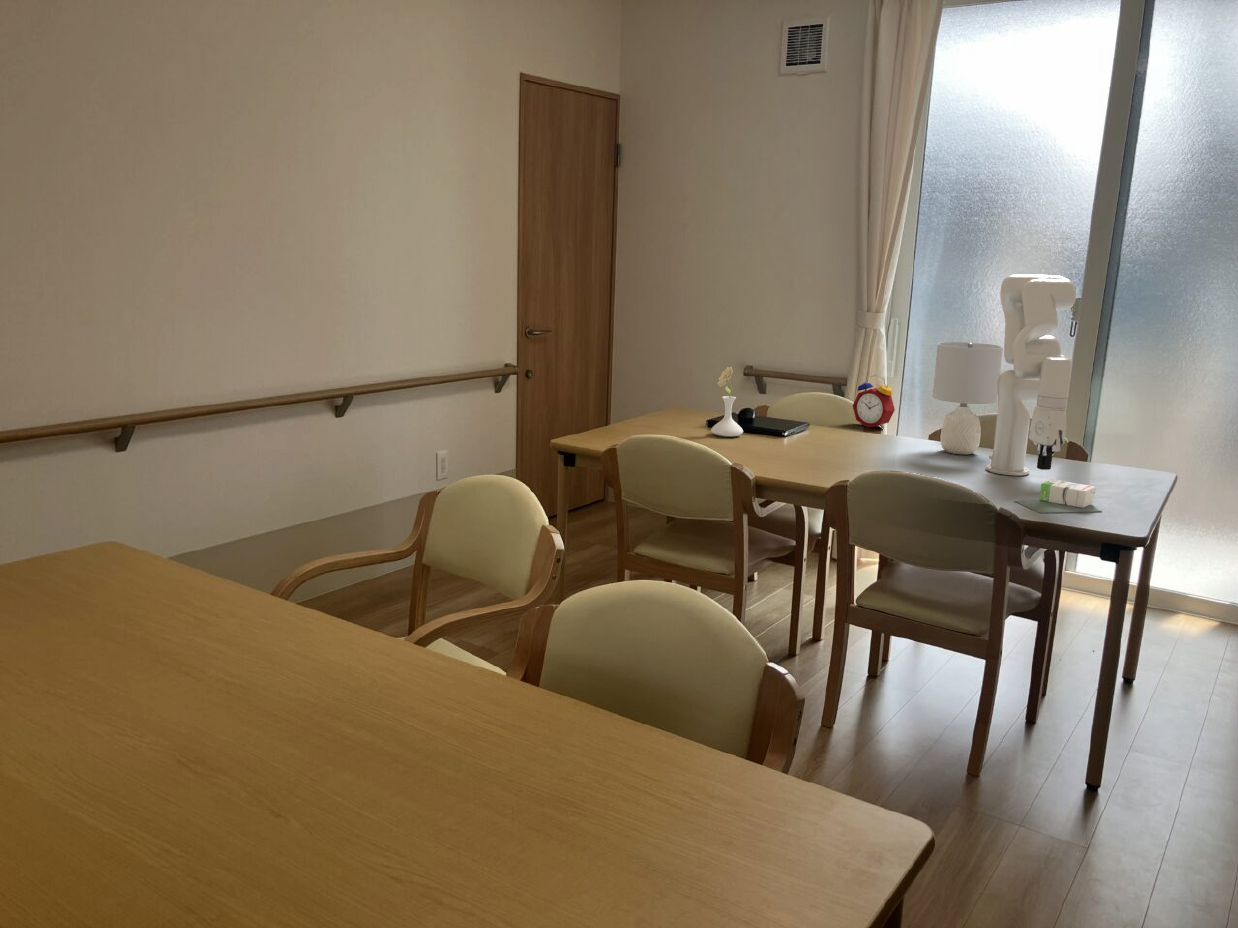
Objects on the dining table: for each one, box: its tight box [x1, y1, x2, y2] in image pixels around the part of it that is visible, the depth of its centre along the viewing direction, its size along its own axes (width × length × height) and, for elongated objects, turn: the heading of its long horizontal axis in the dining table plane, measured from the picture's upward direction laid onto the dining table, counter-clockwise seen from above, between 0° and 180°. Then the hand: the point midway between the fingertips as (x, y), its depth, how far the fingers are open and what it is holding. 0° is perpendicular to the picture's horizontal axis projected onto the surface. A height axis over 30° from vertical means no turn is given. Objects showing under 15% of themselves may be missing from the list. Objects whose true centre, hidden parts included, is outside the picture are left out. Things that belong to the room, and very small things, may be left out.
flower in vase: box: [710, 366, 744, 437], centre depth 349 cm, size 13×11×25 cm
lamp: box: [932, 341, 1004, 456], centre depth 331 cm, size 20×20×37 cm
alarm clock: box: [852, 374, 896, 430], centre depth 377 cm, size 15×9×20 cm, turn 43°
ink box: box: [1038, 478, 1097, 508], centre depth 270 cm, size 9×5×12 cm
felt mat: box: [1013, 499, 1103, 514], centre depth 267 cm, size 12×18×1 cm, turn 100°
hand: (1043, 468), depth 273 cm, fingers closed
